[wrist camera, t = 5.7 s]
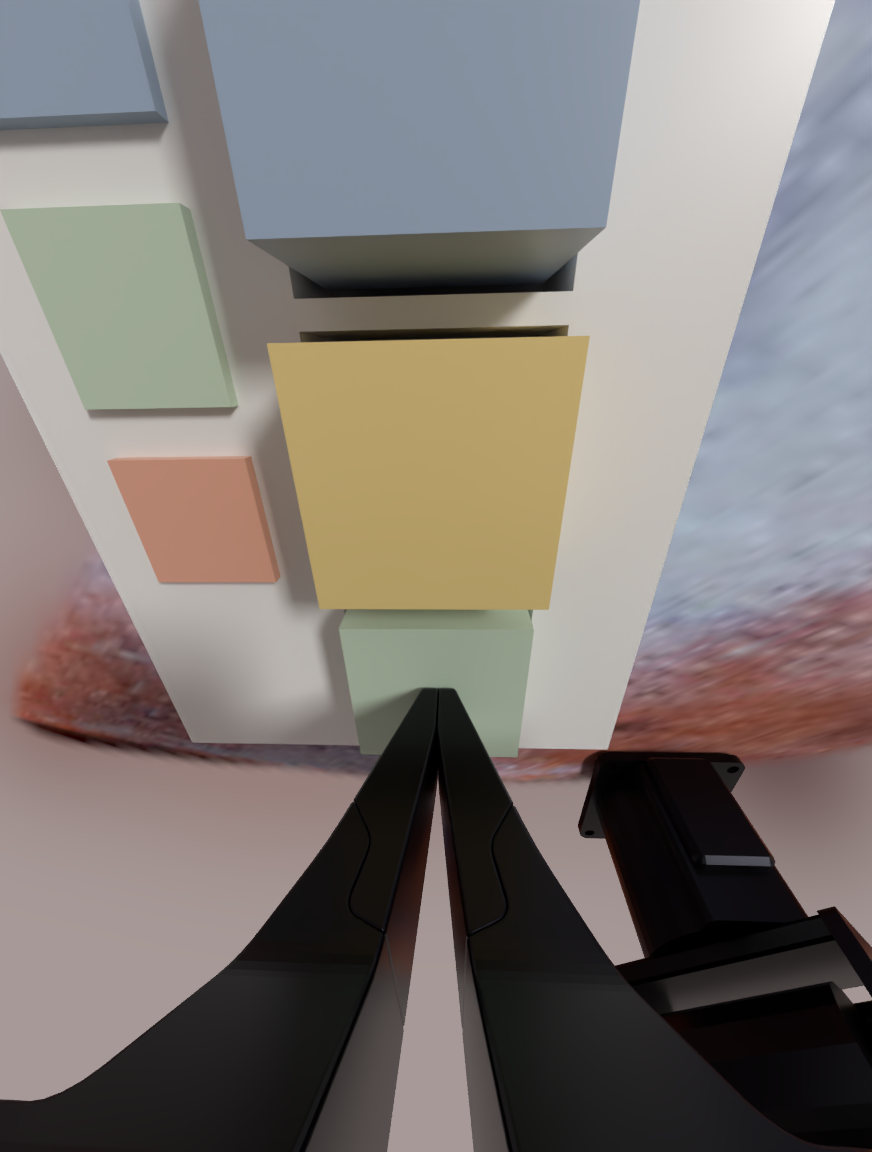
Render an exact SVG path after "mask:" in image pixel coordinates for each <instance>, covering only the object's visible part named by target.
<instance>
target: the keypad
mask: <svg viewBox="0 0 872 1152" xmlns="http://www.w3.org/2000/svg"><path fill="white" fill-rule="evenodd" d="M834 3H835V0H640V5H639V11H638V18H637V25H636V31H635V38H634V45H633V51H632V58H631V65H630V71H629V78H628V85H627V91H626V98H625V105H624V112H623V118H622V125H621V132H620V138H619V145H618V152H617V158H616V165H615V172H614V178H613V185H612V192H611V198H610V205H609V212H608V218H607V225H606V228H605V229H604V230H602V231H601V232H600V233H599V234H598V235H597V236H596V237H595V238H594V239H592V240H591V241H590V242H589V243H588V244H587V245H586V246H585V247H584V248H582V249H581V250H580V251H579V252H578V253H577V254H576V255H575V256H573V257H572V258H571V259H570V260H569V261H568V262H567V263H566V264H565V265H563V266H562V267H561V268H560V269H559V270H558V271H557V272H556V273H554V274H553V275H552V276H551V277H550V278H549V279H548V280H547V281H546V282H544V283H543V284H509V285H474V286H439V287H405V288H370V289H335V290H326V289H324V288H323V287H321V286H320V285H318V284H316V283H315V282H313V281H312V280H310V279H308V278H307V277H305V276H304V275H302V274H300V273H299V272H297V271H296V270H294V269H292V268H291V267H289V266H288V265H286V264H284V263H283V262H281V261H280V260H278V259H276V258H275V257H273V256H272V255H270V254H268V253H267V252H265V251H264V250H262V249H260V248H259V247H257V246H256V245H254V244H252V243H251V242H249V241H248V240H246V237H245V232H244V227H243V222H242V217H241V212H240V207H239V202H238V197H237V192H236V187H235V182H234V177H233V172H232V167H231V162H230V157H229V152H228V147H227V142H226V137H225V132H224V127H223V122H222V116H221V111H220V106H219V101H218V96H217V91H216V86H215V81H214V76H213V71H212V66H211V61H210V56H209V51H208V46H207V41H206V36H205V31H204V26H203V21H202V16H201V11H200V6H199V1H198V0H0V353H1V356H2V358H3V360H4V362H5V364H6V365H7V368H8V370H9V372H10V374H11V376H12V378H13V380H14V382H15V384H16V386H17V388H18V390H19V392H20V394H21V396H22V398H23V400H24V402H25V404H26V406H27V408H28V410H29V412H30V414H31V416H32V418H33V420H34V423H35V424H36V426H37V429H38V430H39V433H40V434H41V437H42V439H43V441H44V443H45V445H46V447H47V449H48V451H49V453H50V455H51V457H52V459H53V461H54V463H55V465H56V467H57V469H58V471H59V473H60V475H61V477H62V479H63V481H64V483H65V485H66V487H67V490H68V491H69V494H70V495H71V498H72V499H73V501H74V504H75V506H76V508H77V510H78V512H79V514H80V516H81V518H82V520H83V522H84V524H85V526H86V528H87V530H88V532H89V534H90V536H91V538H92V540H93V542H94V544H95V546H96V548H97V550H98V552H99V554H100V556H101V558H102V561H103V563H104V565H105V567H106V569H107V571H108V573H109V575H110V577H111V579H112V581H113V583H114V585H115V587H116V589H117V591H118V593H119V595H120V597H121V599H122V601H123V603H124V605H125V607H126V609H127V611H128V613H129V615H130V617H131V619H132V621H133V623H134V625H135V627H136V629H137V632H138V634H139V636H140V638H141V640H142V642H143V644H144V646H145V648H146V650H147V652H148V654H149V656H150V658H151V660H152V662H153V664H154V666H155V668H156V670H157V672H158V674H159V676H160V678H161V680H162V682H163V684H164V686H165V688H166V690H167V692H168V694H169V696H170V698H171V700H172V703H173V705H174V707H175V709H176V711H177V713H178V715H179V717H180V719H181V721H182V723H183V725H184V727H185V729H186V731H187V733H188V735H189V737H190V739H191V741H192V743H240V744H301V745H359V741H358V736H357V730H356V724H355V719H354V713H353V707H352V701H351V696H350V690H349V684H348V679H347V673H346V667H345V661H344V656H343V650H342V644H341V639H340V633H339V627H340V625H341V622H342V620H343V618H344V615H345V613H346V611H347V609H319V604H318V599H317V594H316V589H315V584H314V579H313V574H312V569H311V564H310V558H309V553H308V548H307V543H306V538H305V533H304V528H303V523H302V518H301V513H300V508H299V503H298V498H297V493H296V488H295V483H294V478H293V473H292V468H291V463H290V458H289V453H288V448H287V443H286V438H285V433H284V428H283V423H282V418H281V413H280V408H279V403H278V398H277V393H276V388H275V383H274V378H273V373H272V368H271V363H270V358H269V353H268V348H267V343H301V342H343V341H386V340H428V339H470V338H513V337H555V336H590V338H589V345H588V352H587V358H586V365H585V372H584V378H583V385H582V392H581V398H580V405H579V412H578V418H577V425H576V432H575V438H574V445H573V452H572V458H571V465H570V472H569V478H568V485H567V492H566V498H565V505H564V512H563V518H562V525H561V532H560V539H559V545H558V552H557V559H556V565H555V572H554V579H553V585H552V592H551V599H550V605H549V610H528V612H529V615H530V619H531V622H532V625H533V628H534V634H533V642H532V649H531V657H530V664H529V672H528V680H527V687H526V695H525V702H524V710H523V718H522V725H521V733H520V740H519V748H546V749H608V746H609V743H610V740H611V736H612V733H613V730H614V726H615V723H616V720H617V717H618V713H619V710H620V707H621V703H622V700H623V697H624V694H625V690H626V687H627V684H628V680H629V677H630V674H631V671H632V667H633V664H634V661H635V657H636V654H637V651H638V648H639V644H640V641H641V638H642V634H643V631H644V628H645V624H646V621H647V618H648V615H649V611H650V608H651V605H652V601H653V598H654V595H655V592H656V588H657V585H658V582H659V578H660V575H661V572H662V569H663V565H664V562H665V559H666V555H667V552H668V549H669V546H670V542H671V539H672V536H673V532H674V529H675V526H676V522H677V519H678V516H679V513H680V509H681V506H682V503H683V499H684V496H685V493H686V490H687V486H688V483H689V480H690V476H691V473H692V470H693V467H694V463H695V460H696V457H697V453H698V450H699V447H700V444H701V440H702V437H703V434H704V430H705V427H706V424H707V420H708V417H709V414H710V411H711V407H712V404H713V401H714V397H715V394H716V391H717V388H718V384H719V381H720V378H721V374H722V371H723V368H724V365H725V361H726V358H727V355H728V351H729V348H730V345H731V342H732V338H733V335H734V332H735V328H736V325H737V322H738V318H739V315H740V312H741V309H742V305H743V302H744V299H745V295H746V292H747V289H748V286H749V282H750V279H751V276H752V272H753V269H754V266H755V263H756V259H757V256H758V253H759V249H760V246H761V243H762V240H763V236H764V233H765V230H766V226H767V223H768V220H769V217H770V213H771V210H772V207H773V203H774V200H775V197H776V193H777V190H778V187H779V184H780V180H781V177H782V174H783V170H784V167H785V164H786V161H787V157H788V154H789V151H790V147H791V144H792V141H793V138H794V134H795V131H796V128H797V124H798V121H799V118H800V115H801V111H802V108H803V105H804V101H805V98H806V95H807V91H808V88H809V85H810V82H811V78H812V75H813V72H814V68H815V65H816V62H817V59H818V55H819V52H820V49H821V45H822V42H823V39H824V36H825V32H826V29H827V26H828V22H829V19H830V16H831V13H832V9H833V6H834Z"/></svg>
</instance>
